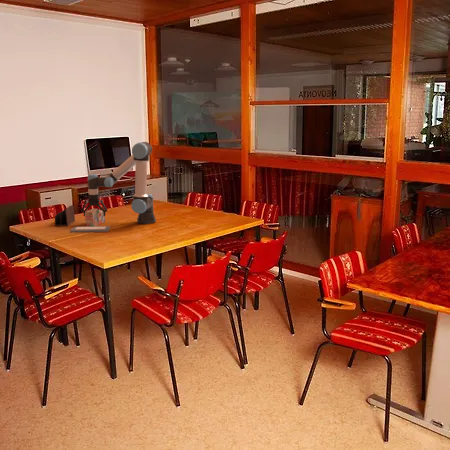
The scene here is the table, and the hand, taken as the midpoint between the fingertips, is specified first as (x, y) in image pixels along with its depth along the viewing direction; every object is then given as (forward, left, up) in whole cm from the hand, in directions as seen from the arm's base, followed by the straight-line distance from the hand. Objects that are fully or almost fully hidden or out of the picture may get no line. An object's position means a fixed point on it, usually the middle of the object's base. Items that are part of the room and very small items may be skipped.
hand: (94, 220), depth 392 cm
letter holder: (+24, -4, -4) cm, 25 cm away
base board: (-1, +21, -3) cm, 21 cm away
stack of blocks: (-1, 0, -4) cm, 4 cm away
